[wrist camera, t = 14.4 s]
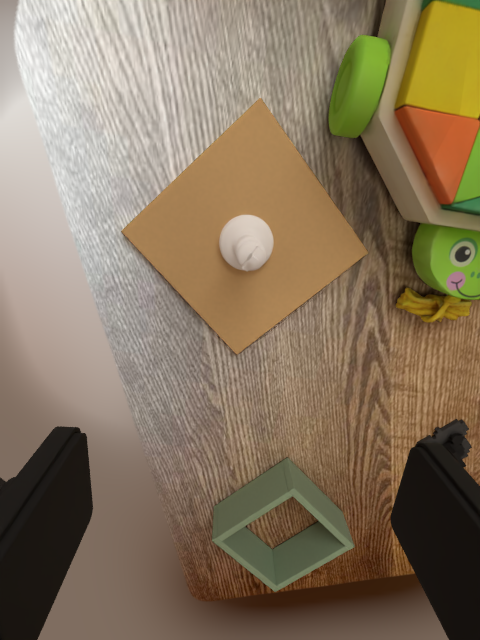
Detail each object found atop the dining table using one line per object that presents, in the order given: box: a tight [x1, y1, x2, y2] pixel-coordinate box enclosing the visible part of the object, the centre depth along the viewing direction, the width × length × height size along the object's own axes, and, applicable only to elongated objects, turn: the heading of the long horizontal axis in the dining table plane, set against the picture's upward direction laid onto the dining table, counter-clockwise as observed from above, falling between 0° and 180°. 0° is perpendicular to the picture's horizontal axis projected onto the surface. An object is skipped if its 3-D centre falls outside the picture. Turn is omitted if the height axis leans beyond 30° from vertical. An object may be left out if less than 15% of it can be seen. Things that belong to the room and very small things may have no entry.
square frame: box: [212, 457, 355, 592], centre depth 39 cm, size 12×12×4 cm
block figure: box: [417, 419, 472, 467], centre depth 38 cm, size 6×2×6 cm
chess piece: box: [219, 215, 274, 271], centre depth 25 cm, size 5×5×10 cm
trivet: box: [121, 98, 368, 354], centre depth 30 cm, size 16×16×1 cm
